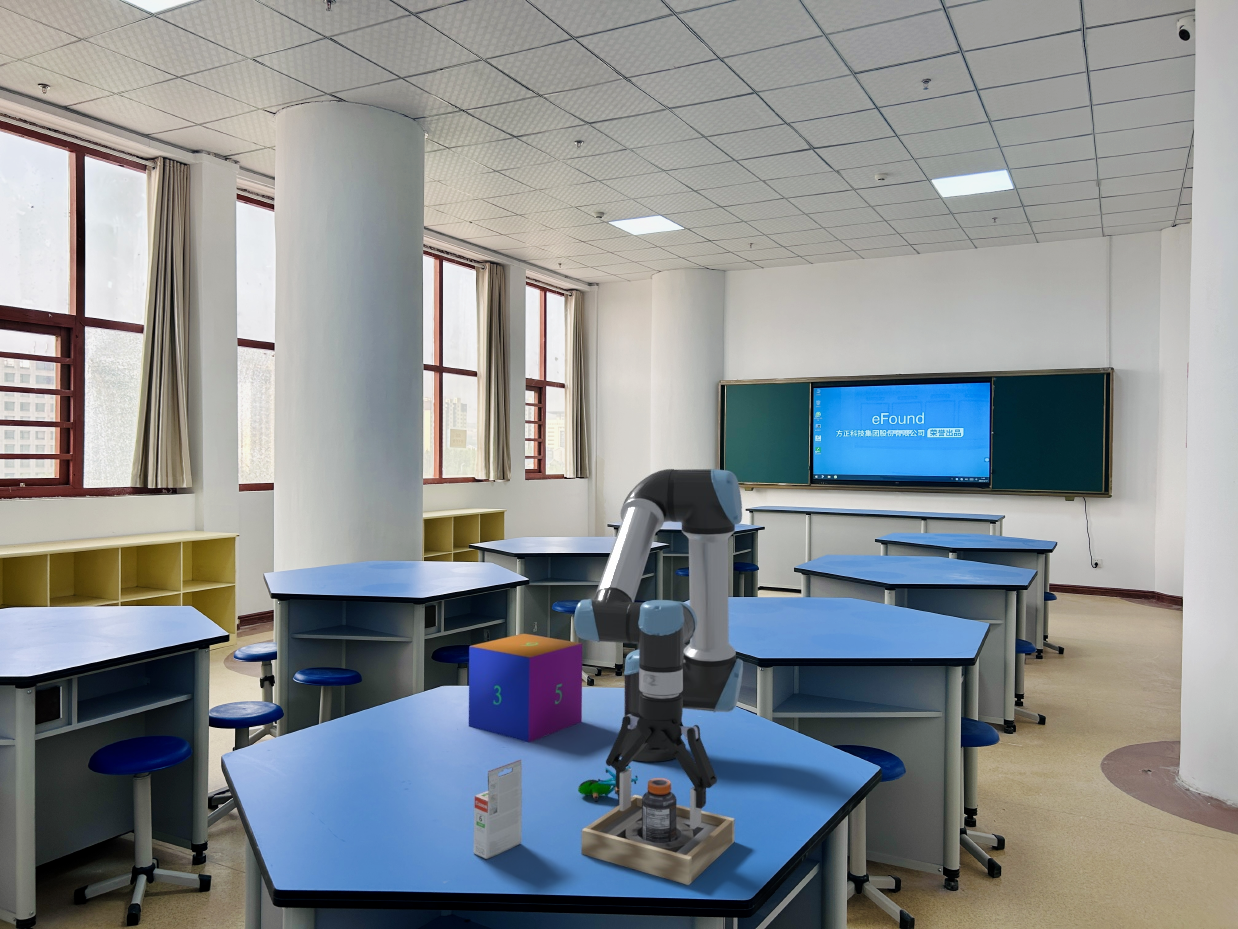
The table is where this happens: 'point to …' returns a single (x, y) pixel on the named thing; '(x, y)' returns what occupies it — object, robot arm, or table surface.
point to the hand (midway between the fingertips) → (659, 817)
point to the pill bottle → (659, 812)
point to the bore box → (674, 860)
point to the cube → (525, 686)
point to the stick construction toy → (601, 786)
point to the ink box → (499, 812)
